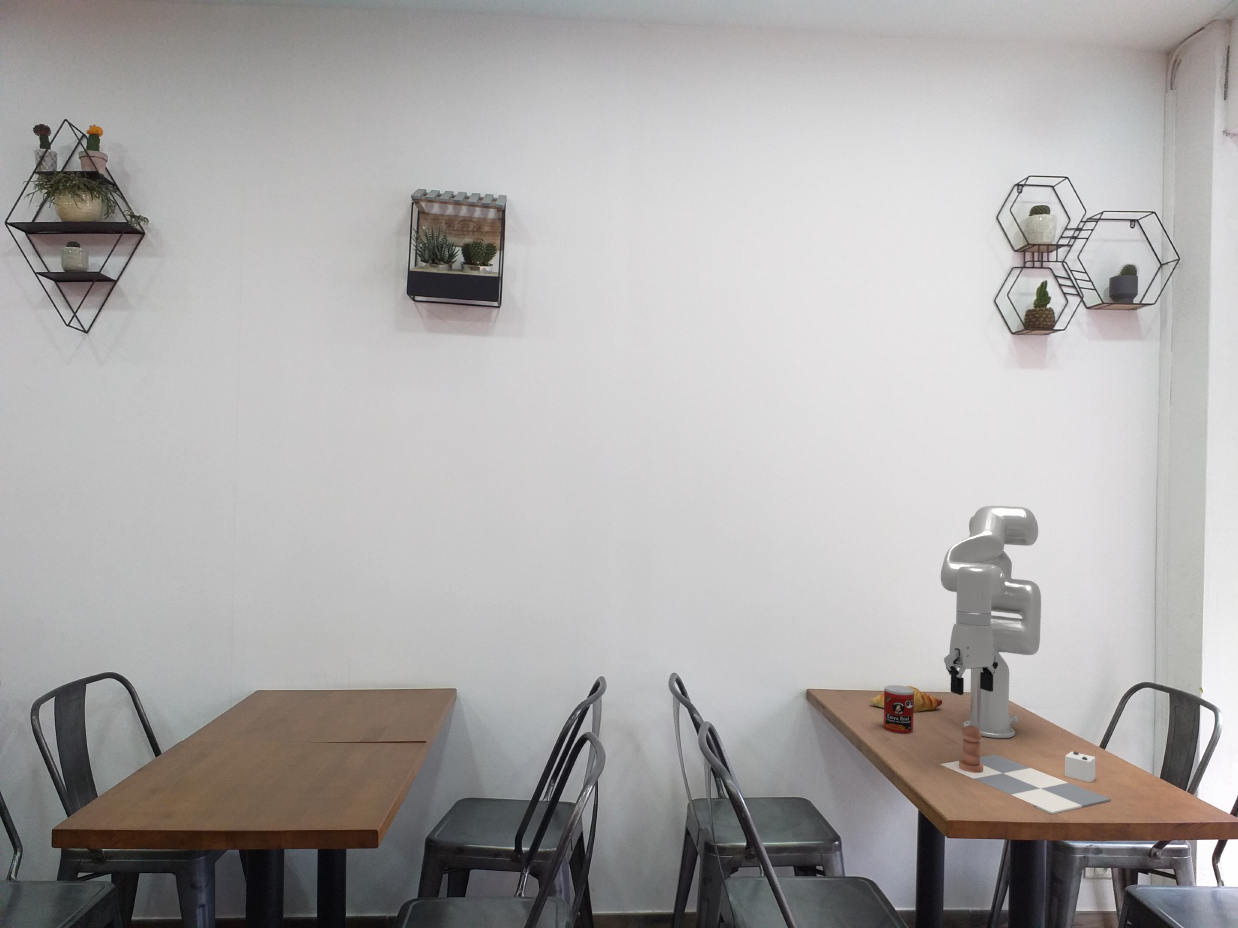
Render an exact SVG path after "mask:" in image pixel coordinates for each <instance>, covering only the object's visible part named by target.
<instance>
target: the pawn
mask: <svg viewBox="0 0 1238 928" xmlns="http://www.w3.org/2000/svg"><path fill="white" fill-rule="evenodd" d="M962 737H963V739H962V741H963V742H962V743H963V744H962V759H959V760H958V761H959V768H960V769H962V770H964V771H968V772H973V773H981V772H983V764H982V763H980V757H981V742H980V740H981V738H982V736H981V732H980V730H979V729H978V728H977V727H975V726H972V725H969V726H966V727H965V728H964V727H963V730H962Z"/></svg>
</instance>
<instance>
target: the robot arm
mask: <svg viewBox="0 0 1238 928" xmlns="http://www.w3.org/2000/svg"><path fill="white" fill-rule="evenodd" d="M968 522H969V523H968V531H969V536H968V537H967V538H964V539H962V540H960V541H958V542H957V543H955V544H954V545H953V546H951V547H950V548H949V549H948V550H947V552H946V554H945V556H944V559H943V563H942V567H941V571H940V582H941V586H942V587H943V588H944V589H945V590H946V591H948V592H952V593H956V603H955V604H956V605H955V607H956V608H955V609H956V611H955V614H956V616H955V623H953V626H952V630H951V636H950V643H949V652H948V654H947V655H946V656H945V657H944V658H943V662H944V666H945V669H946V670H947V672H948V675H949V676H950V692H951V693H953V694H956V695H959V696H963V695H964V686H965V685H964V684H965V682H964V681H965V680H964V677H963V675H964V673H965V672H966V670H970V690H969V692H970V697H969V698H970V699H969V703H970V704H969V720H965V721H964V722H963V729H964V728H965V727H966V726H969V725H972V726H975V727H977V728H978V729H979V730H980V732H981V737H987V738H994V739H1009V738H1012V737H1014V736H1015V730H1014V729H1013V727H1011V724H1013V723H1014V724H1015V723H1018V722H1019V721H1020V718H1019V716H1018V715H1017V714H1015V715H1010V714H1009V713H1010V711H1009V705H1010V704H1009V702H1010V695H1009V694H1010V668H1009V665H1008V663H1007V662H1006V660H1005V659H1004V657H1003V656H1002V655H1001V654H1000V653H1006V654H1016V655H1025V656H1032V655H1036V653H1038V651H1039V650H1040V649H1039V648H1040V643H1041V617H1042V616H1041V615H1042V593H1041V589H1040V587H1039V586H1038V584H1037V583H1036V582H1034V581H1032V580H1028V579H1020V578H1019V579H1016V578H1012V571H1013V569H1012V568H1013V564H1012V563H1013V562H1012V559H1011V558H1010V557H1009V555H1008V554H1007V553H1006V551H1004V549H1005V545H1007V546H1008V545H1011V546H1022V547H1023V546H1026V547H1027V546H1032V545H1034V544H1035V543H1036V541H1037V540H1038V537H1039V525H1038V521H1037V519H1036V517H1035V514H1034V513H1033V511H1031V510H1030V509H1028V508H1026V507H1023V506H1006V505H1005V506H1004V505H1003V506H1002V505H987V506H982V507H981V508H978V509H977V510H976V511H975V514H974V515H973V516H971V517H970V519H969V521H968ZM992 612H995V613H1005V614H1013V615H1019V616H1021V618H1017V617H1007V616H1002V615H992Z"/></svg>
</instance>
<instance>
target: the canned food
mask: <svg viewBox="0 0 1238 928" xmlns="http://www.w3.org/2000/svg"><path fill="white" fill-rule="evenodd" d="M883 694H884V708H883V728H884V729H885V730H886V731H889V732H892V733H895V734H909V733H912V732H913V729H914V715H915V714H914V690H913V689H911V688H909V687H906V686H904V685H896V684H894V685H893V684H891V685H885V687H884V690H883Z"/></svg>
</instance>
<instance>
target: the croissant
mask: <svg viewBox="0 0 1238 928" xmlns="http://www.w3.org/2000/svg"><path fill="white" fill-rule="evenodd" d="M905 687H909V688H911V689H913V690H914V712H915V713H918V712H919V713H920V712H923V711H925V712H926V711H932V710H935V709H938V708H939V707H940V706H942V704H943V700H942V699H940V698H936V697H935V696H933V695H929V694H928V695H927V693H926V692H923V691H920V690H919V689H918V688H916V687H914V686H911V685H907V686H905ZM869 702H870V704H872V705H873V706H874V707H879V708H881V709H884V693H880V694H878V695H877V696H875V697H871V698H870V699H869Z"/></svg>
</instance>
